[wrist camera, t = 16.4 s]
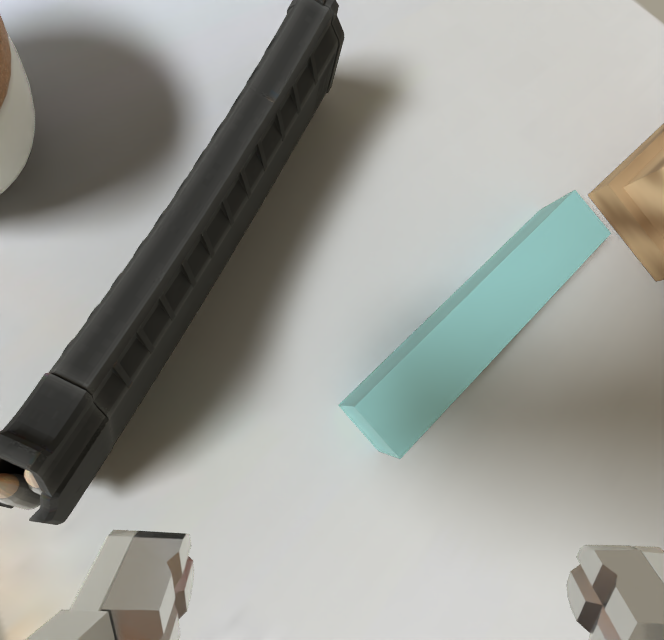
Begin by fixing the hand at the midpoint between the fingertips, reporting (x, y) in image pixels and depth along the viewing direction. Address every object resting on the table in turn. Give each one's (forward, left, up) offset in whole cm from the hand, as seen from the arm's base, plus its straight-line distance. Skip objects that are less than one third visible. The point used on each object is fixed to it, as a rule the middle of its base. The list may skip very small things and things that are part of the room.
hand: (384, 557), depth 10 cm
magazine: (-12, +4, -20) cm, 23 cm away
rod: (+2, +16, -20) cm, 26 cm away
